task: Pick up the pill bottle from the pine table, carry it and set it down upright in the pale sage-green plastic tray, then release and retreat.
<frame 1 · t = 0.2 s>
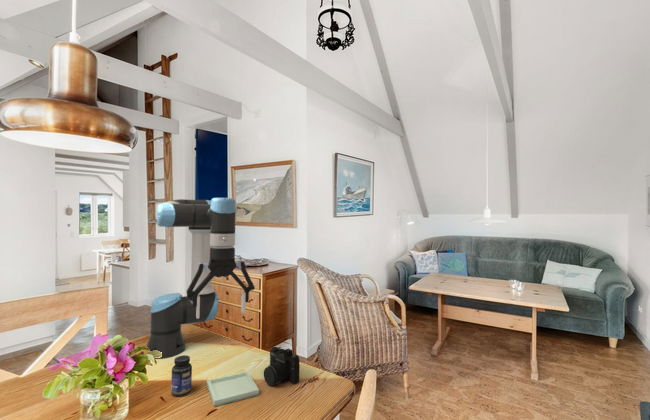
hand: (221, 314, 101), 27 cm above the table, fingers open, 13 cm apart
tray: (232, 390, 107), on the table
pill bottle: (181, 392, 106), on the table
camera: (278, 380, 115), on the table
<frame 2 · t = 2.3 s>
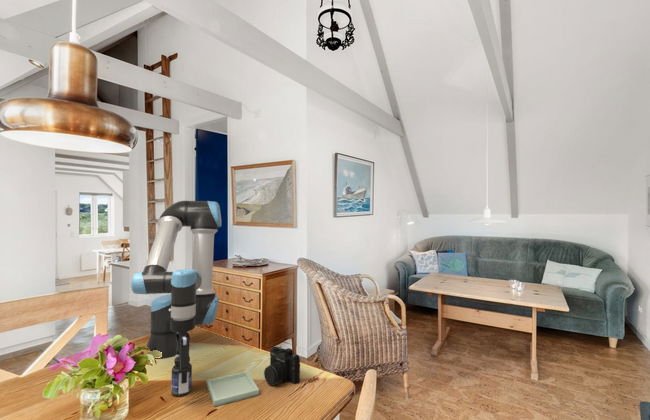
hand: (181, 382, 106), 3 cm above the table, fingers open, 13 cm apart
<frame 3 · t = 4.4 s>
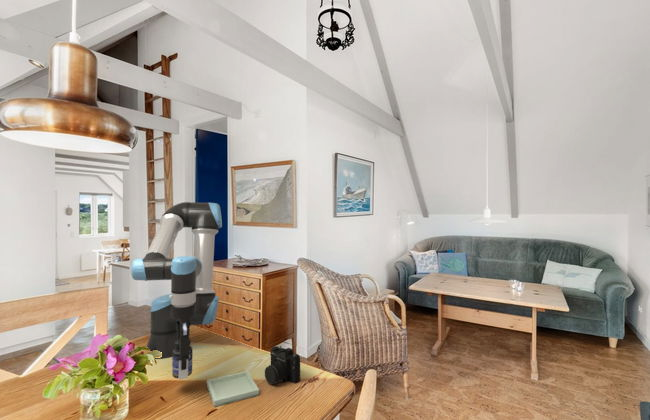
hand: (182, 373, 107), 6 cm above the table, fingers closed on pill bottle, 6 cm apart
pill bottle: (182, 374, 107), point 5 cm above the table, touching gripper
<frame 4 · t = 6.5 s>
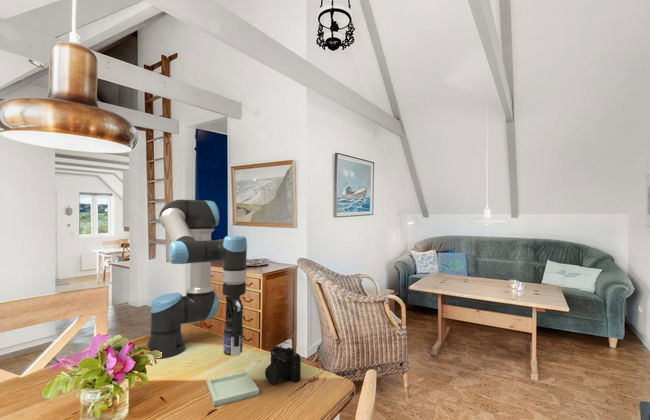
hand: (233, 351, 108), 13 cm above the table, fingers closed on pill bottle, 6 cm apart
pill bottle: (232, 352, 108), point 12 cm above the table, touching gripper
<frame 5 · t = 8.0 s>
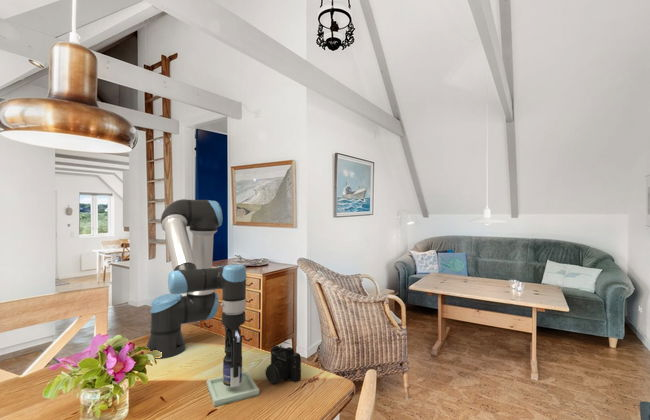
hand: (232, 381, 107), 3 cm above the table, fingers closed on pill bottle, 6 cm apart
pill bottle: (232, 382, 107), point 3 cm above the table, touching gripper
when the fingers open (2 cm above the table, at t = 9.0 s): pill bottle stays where it is, resting on tray.
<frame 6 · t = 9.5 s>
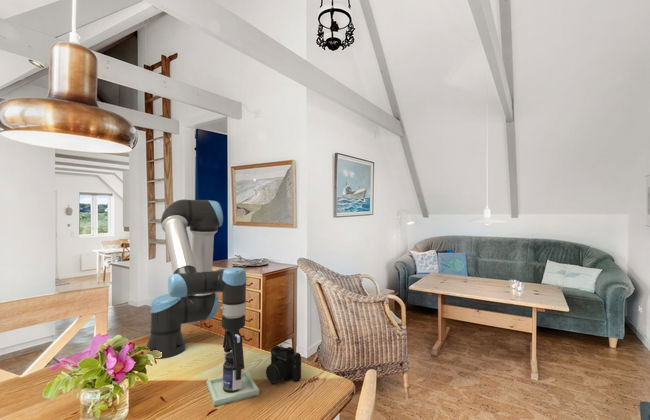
hand: (232, 379, 108), 4 cm above the table, fingers open, 12 cm apart
pill bottle: (232, 388, 108), resting on tray
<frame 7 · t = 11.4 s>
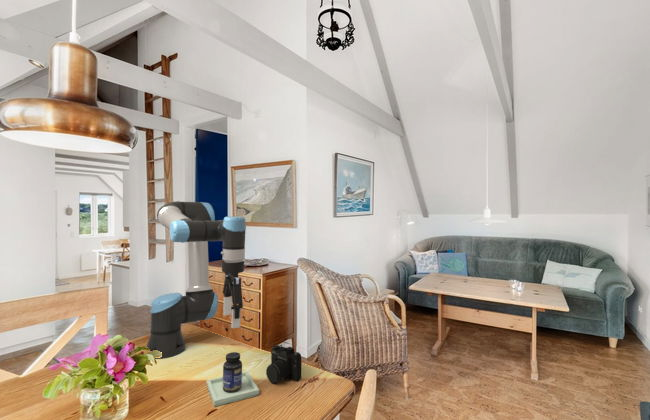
hand: (231, 320, 113), 21 cm above the table, fingers open, 13 cm apart
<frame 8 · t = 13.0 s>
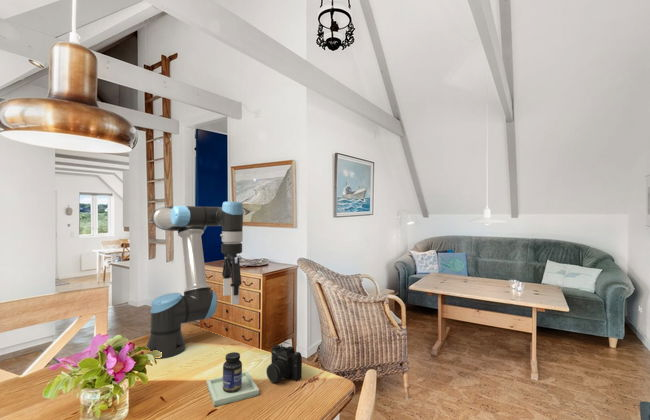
hand: (230, 299, 121), 27 cm above the table, fingers open, 13 cm apart
at the end: pill bottle inside the target area on the tray (0.0 cm from its centre), point 0.4 cm above the tray's base; pill bottle tilted 0°; the gripper is holding nothing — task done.
